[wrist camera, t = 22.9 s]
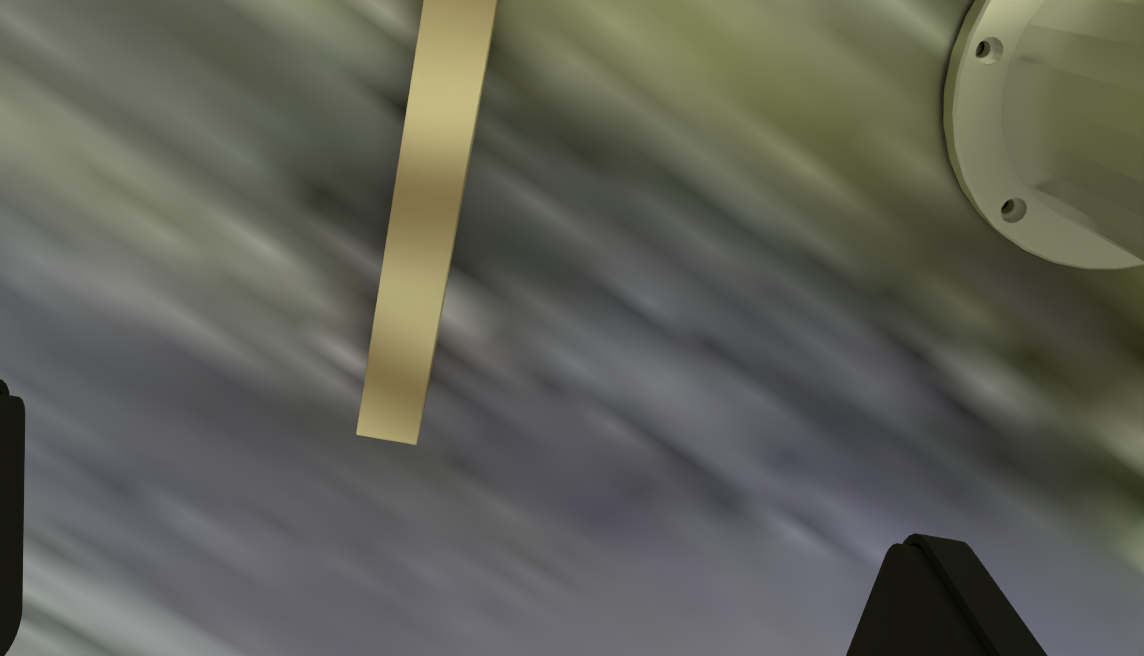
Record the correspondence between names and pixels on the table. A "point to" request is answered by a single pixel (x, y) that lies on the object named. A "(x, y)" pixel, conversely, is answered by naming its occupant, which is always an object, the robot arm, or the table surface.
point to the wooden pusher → (425, 213)
